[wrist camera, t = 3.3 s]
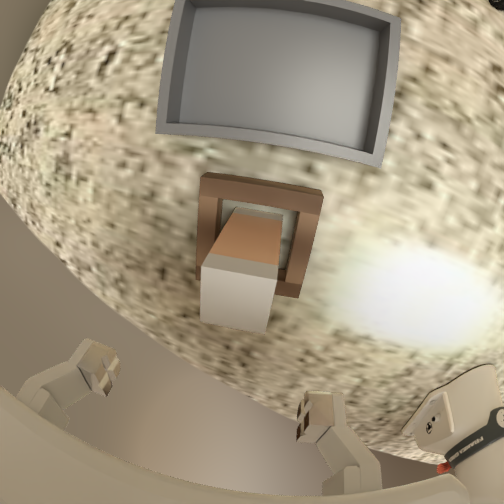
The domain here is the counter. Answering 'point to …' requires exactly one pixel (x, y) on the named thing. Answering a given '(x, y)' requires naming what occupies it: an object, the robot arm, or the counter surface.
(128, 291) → the counter surface
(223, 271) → the block
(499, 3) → the electric trimmer
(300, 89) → the tray
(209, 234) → the frame
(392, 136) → the counter surface
